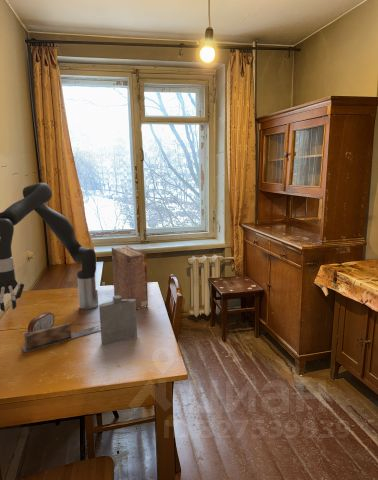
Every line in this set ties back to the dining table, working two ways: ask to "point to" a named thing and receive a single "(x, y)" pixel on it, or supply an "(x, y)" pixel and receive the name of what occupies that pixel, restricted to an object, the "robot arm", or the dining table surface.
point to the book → (130, 275)
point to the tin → (41, 322)
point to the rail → (73, 335)
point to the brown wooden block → (47, 335)
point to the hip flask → (118, 320)
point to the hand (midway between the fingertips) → (8, 309)
